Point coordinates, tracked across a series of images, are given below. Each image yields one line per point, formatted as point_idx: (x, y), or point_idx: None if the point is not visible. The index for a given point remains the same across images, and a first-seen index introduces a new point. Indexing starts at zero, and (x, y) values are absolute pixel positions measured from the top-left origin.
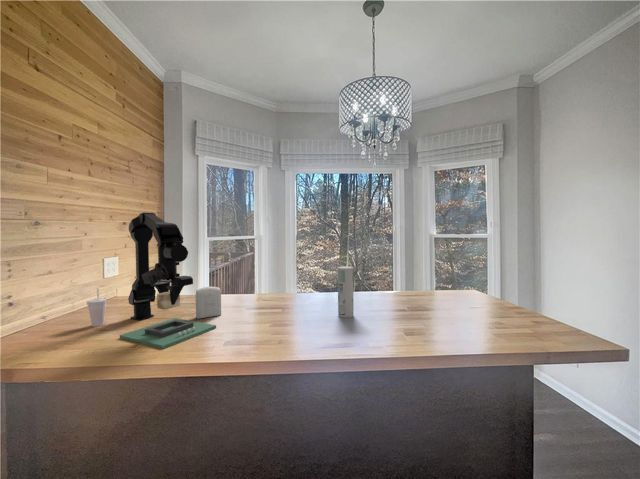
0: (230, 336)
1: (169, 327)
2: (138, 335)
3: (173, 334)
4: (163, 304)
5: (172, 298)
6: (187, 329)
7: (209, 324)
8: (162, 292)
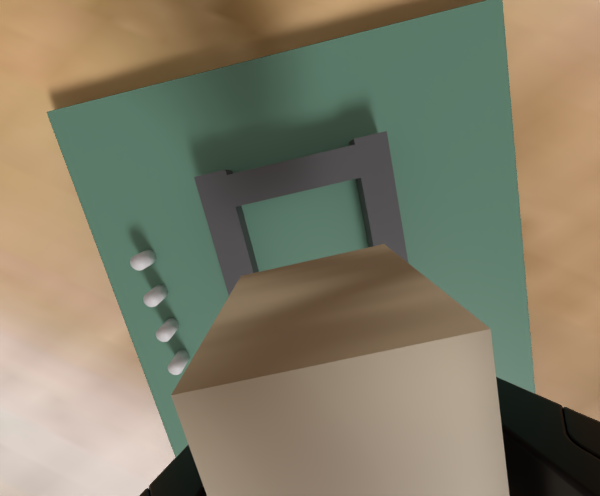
0: (4, 438)
1: None
2: (377, 89)
3: (213, 250)
4: (258, 290)
5: (185, 454)
6: None
7: None
8: (532, 487)
